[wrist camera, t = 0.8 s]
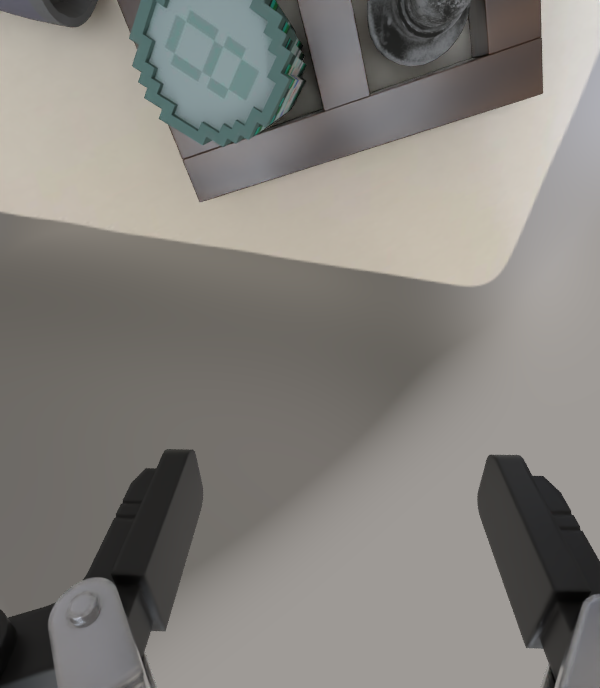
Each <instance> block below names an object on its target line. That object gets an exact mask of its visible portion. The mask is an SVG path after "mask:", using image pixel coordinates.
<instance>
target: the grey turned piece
mask: <svg viewBox="0 0 600 688" xmlns="http://www.w3.org/2000/svg"><path fill="white" fill-rule="evenodd" d="M470 5H471V0H368V3H367V19H368V28H369V32H370V37H371V39H372V41H373V43H374V45H375V47H376V48H377V49H378V51H379V52H380V53H381V54H382V55H383V56H385V57H386V58H388V59H390V60H392V61H393V62H395V63H397V64H401V65H406V66H418V65H424V64H426V63H429V62H431V61H434V60H436V59H437V58H438V57H440V56H441V55H442V54H444V53H445V52H446V51H448V49H449V48H450V47H451V46H452V45H453V44H454V42H455V41H456V40H457V39H458V37H459V35H460V33H461V31H462V29H463V28H464V26H465V24H466V20H467V17H468V14H469V10H470Z"/></svg>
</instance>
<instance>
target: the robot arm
mask: <svg viewBox="0 0 600 688" xmlns="http://www.w3.org/2000/svg"><path fill="white" fill-rule="evenodd" d="M202 500H203V486H202V482H201V477H200V472H199V468H198V463H197V458H196V454H195V451H194V450H176V449H174V450H173V449H167V450H165V451H164V453H163V455H162V457H161V459H160V462H159V464H158V466H157V468H156V469H150V468H148V469H147V468H146V469H145V470H144V471H143V472H142V473H141V474H140V475H139V476H138V477H137V478H136V479H135V480H134V481H133V482H132V483H131V485H130V487H129V489H128V491H127V493H126V495H125V497H124V499H123V503H122V504H121V505H120V507H119V509H118V511H117V513H116V518H114V520H113V522H112V524H111V526H110V528H109V530H108V532H107V534H106V536H105V538H104V540H103V542H102V544H101V546H100V549H99V551H98V553H97V555H96V557H95V559H94V561H93V563H92V565H91V567H90V569H89V571H88V573H87V575H86V577H85V578H84V579H83V581H81V582H79V583H77V584H75V585H73V586H72V587H71V588H69V589H68V590H67V591H66V592H65V593H64V594H63V595H62V596H61V597H60V598H59V599H58V601H57V602H56V603H54V604H51V605H49V606H46V607H43V608H40V609H36V610H32V611H29V612H26V613H23V614H19V615H16V616H12V617H9V618H7V616H6V615H5V614H4V613H3V611H2V610H0V688H157V686H156V683H155V680H154V677H153V674H152V671H151V668H150V665H149V662H148V659H147V655H146V653H145V647H146V645H147V641H148V638H149V635H150V632H151V631H166V627H167V624H168V621H169V617H170V614H171V610H172V607H173V603H174V600H175V597H176V593H177V590H178V586H179V583H180V580H181V576H182V572H183V569H184V566H185V562H186V559H187V556H188V552H189V549H190V545H191V542H192V538H193V535H194V532H195V528H196V525H197V521H198V518H199V515H200V511H201V507H202ZM478 509H479V515H480V518H481V520H482V524H483V526H484V529H485V532H486V535H487V538H488V541H489V544H490V546H491V549H492V552H493V555H494V558H495V560H496V563H497V566H498V569H499V572H500V575H501V577H502V580H503V583H504V586H505V589H506V592H507V595H508V598H509V601H510V603H511V606H512V609H513V612H514V614H515V617H516V620H517V623H518V626H519V629H520V632H521V635H522V637H523V640H524V643H525V646H526V648H542V649H544V652H545V654H546V657H547V659H548V662H549V665H548V667H547V669H546V672H545V675H544V679H543V682H542V685H541V688H600V561H599V559H598V558H597V556H596V554H595V552H594V551H593V549H592V547H591V545H590V544H589V542H588V540H587V538H586V537H585V535H584V533H583V531H581V530H580V526H579V524H578V522H577V521H576V519H575V517H574V515H572V514H571V510H570V508H569V506H568V505H567V503H566V501H565V499H564V498H563V496H562V494H561V492H559V491H558V490H557V489H556V488H555V487H554V486H553V485H552V484H551V483H550V482H549V481H548V480H547V479H545V477H544V476H532V474H531V473H530V471H529V469H528V467H527V465H526V463H525V462H524V459H523V458H522V457H521V456H519V455H489V456H488V458H487V460H486V464H485V468H484V472H483V475H482V480H481V483H480V487H479V491H478Z"/></svg>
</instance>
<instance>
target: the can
mask: <svg viewBox="0 0 600 688" xmlns="http://www.w3.org/2000/svg"><path fill="white" fill-rule="evenodd" d="M129 39H131V40H132V41H134V42H135V43H137V44H138V45H139V46H138V49H137V52H136V55H135V58H134V61H133V65H132V66H133V67H134V68H136V69H137V70H139V71H141V75H140V78H139V81H138V82H139V83H140V84H142V85H143V86H145V87H147V91H146V94H145V97H144V98H145V99H147V100H148V101H150V102H152V103H153V104H155V105H156V106H158V107H160V108H161V109H162V111H161V114H160V117H159V119H160V120H162V121H164V122H165V123H167V124H168V125H170V126H172V127H173V128H175V129H177V130H178V131H180V132H181V133H183V134H185V135H186V136H188V137H189V138H191V139H193V140H194V141H196V142H197V143H199V144H201V145H202V146H203V145H205V144H207V143H209V142H211V141H214V142H216V143H217V144H219V145H220V146H222V147H225V146H226V145H228V144H230V143H231V142H234V143H235V144H236V143H238V142H239V141H241V140H242V139H244V138H246V139H247V140H249V139H251V138H252V137H254V136H255V135H256V134H258V133H259V132H261V131H262V130H263V129H265V128H266V127H268V126H269V125H270V124H272V123H273V122H275V121H276V120H277V119H279V118H280V117H281V116H283V115H284V114H285V113H287V112H288V111H290V110H291V109H292V107H293V105H294V103H295V101H296V99H297V97H298V95H299V93H300V91H301V89H302V87H303V86H304V84H305V82H306V80H304V79H303V78H301V76H302V74H303V72H304V70H305V68H306V66H307V65H306V64H305V63H304V62H302V60H303V58H304V56H305V55H304V54H303V53H302V52H301V48H302V46H303V45H302V44H301V42H300V41H299V39H298V38H297V36H296V35H295V30H294V29H293V27H292V26H291V24H290V22H289V21H288V19H287V18H286V16H285V15H284V13H283V11H282V10H281V8H280V7H279V5H278V4H277V2H276V0H141V1H140V4H139V8H138V11H137V14H136V17H135V21H134V24H133V27H132V30H131V34H130V37H129Z"/></svg>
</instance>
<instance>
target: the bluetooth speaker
mask: <svg viewBox="0 0 600 688" xmlns="http://www.w3.org/2000/svg"><path fill="white" fill-rule="evenodd" d="M97 1H98V0H0V10H1V11H4V12H7V13H11V14H14V15H18V16H21V17H25V18H29V19H33V20H37V21H42V22H47V23H52V24H57V25H62V26H67V27H78V26H80V25H82V24H84V23H85V22H86V21H87V20H88V18H89V17H90V16H91V14H92V12H93V10H94V9H95V6H96V4H97Z"/></svg>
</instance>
